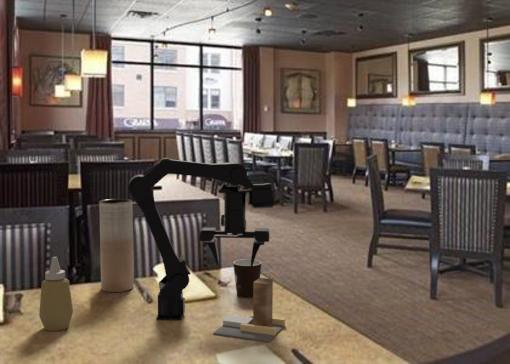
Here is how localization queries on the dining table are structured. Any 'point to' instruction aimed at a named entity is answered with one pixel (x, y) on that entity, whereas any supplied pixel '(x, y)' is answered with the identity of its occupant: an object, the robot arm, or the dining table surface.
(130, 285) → the vase
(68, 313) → the squeeze bottle
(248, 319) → the underlay
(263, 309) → the wooden block
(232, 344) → the dining table surface
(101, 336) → the dining table surface
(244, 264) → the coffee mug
